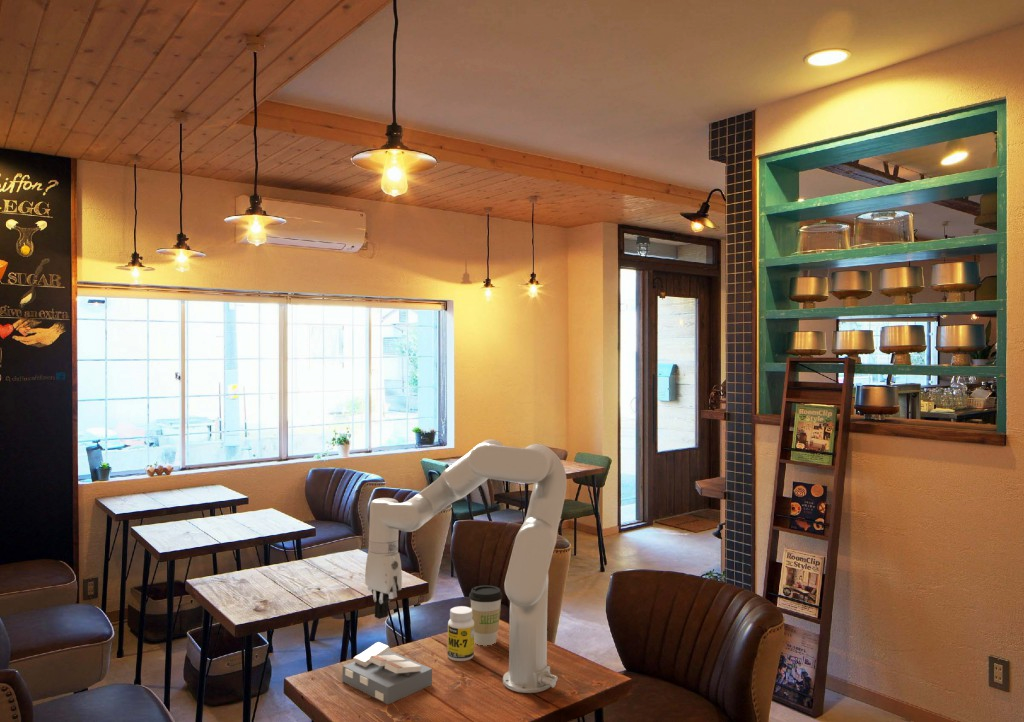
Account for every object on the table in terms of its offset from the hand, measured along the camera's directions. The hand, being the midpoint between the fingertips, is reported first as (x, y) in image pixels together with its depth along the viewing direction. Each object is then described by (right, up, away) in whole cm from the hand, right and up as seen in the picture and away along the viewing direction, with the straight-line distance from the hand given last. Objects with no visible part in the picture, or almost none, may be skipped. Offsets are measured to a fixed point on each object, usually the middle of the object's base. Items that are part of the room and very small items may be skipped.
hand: (381, 616), depth 185 cm
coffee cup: (+26, -15, +20) cm, 36 cm away
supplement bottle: (+20, -15, +10) cm, 27 cm away
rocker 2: (+3, -9, -7) cm, 12 cm away
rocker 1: (-2, -9, -3) cm, 10 cm away
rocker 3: (+7, -9, -11) cm, 16 cm away
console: (+3, -14, -7) cm, 16 cm away
